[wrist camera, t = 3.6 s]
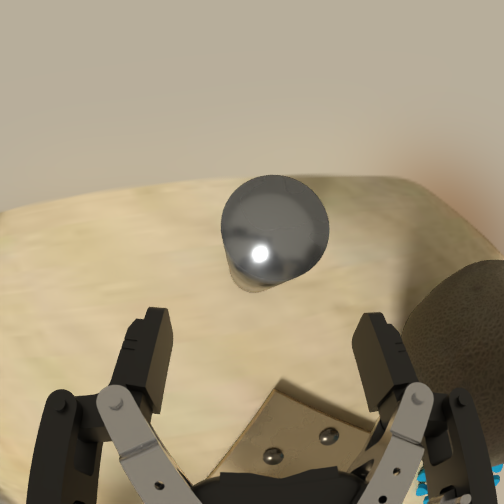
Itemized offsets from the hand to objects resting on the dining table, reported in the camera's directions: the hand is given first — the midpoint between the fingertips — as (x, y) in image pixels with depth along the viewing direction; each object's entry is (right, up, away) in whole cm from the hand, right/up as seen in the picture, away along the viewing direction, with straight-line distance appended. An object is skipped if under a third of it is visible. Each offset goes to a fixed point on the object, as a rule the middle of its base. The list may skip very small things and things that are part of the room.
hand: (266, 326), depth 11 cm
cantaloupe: (+14, -6, +9) cm, 18 cm away
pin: (0, +2, +10) cm, 10 cm away
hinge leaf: (+1, -18, +6) cm, 19 cm away
